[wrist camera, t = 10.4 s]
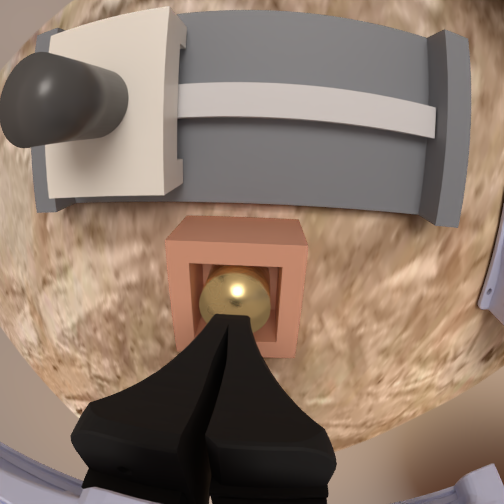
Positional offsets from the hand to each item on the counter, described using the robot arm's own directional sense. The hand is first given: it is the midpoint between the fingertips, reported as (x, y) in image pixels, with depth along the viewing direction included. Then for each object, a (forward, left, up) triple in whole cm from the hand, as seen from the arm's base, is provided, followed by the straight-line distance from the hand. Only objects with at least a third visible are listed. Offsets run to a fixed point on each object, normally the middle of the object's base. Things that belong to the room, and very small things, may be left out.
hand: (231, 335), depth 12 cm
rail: (+9, 0, -6) cm, 11 cm away
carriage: (+9, +6, -5) cm, 12 cm away
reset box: (0, 0, -6) cm, 6 cm away
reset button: (0, 0, -5) cm, 5 cm away
